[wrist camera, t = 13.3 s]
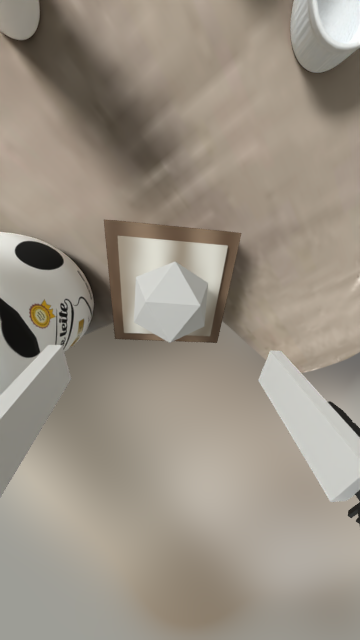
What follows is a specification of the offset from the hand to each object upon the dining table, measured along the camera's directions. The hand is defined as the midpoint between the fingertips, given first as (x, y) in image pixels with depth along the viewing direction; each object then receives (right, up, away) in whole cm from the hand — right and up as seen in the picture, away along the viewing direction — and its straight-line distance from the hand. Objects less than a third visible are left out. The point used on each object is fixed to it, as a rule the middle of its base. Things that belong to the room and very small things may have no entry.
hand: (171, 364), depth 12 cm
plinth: (-1, +9, +18) cm, 20 cm away
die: (-1, +7, +12) cm, 14 cm away
